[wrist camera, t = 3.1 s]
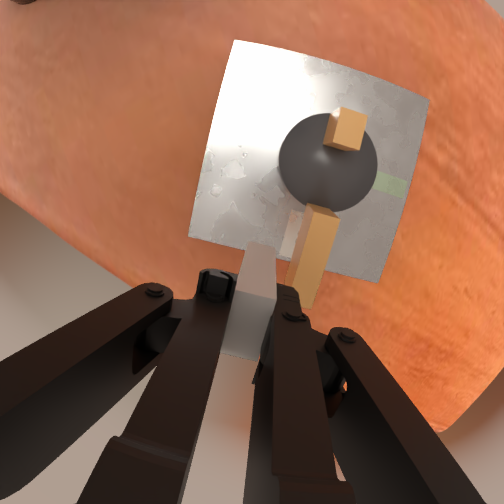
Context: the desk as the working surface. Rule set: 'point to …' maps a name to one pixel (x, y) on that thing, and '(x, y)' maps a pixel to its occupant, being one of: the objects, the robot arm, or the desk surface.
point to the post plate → (268, 145)
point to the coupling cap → (324, 187)
